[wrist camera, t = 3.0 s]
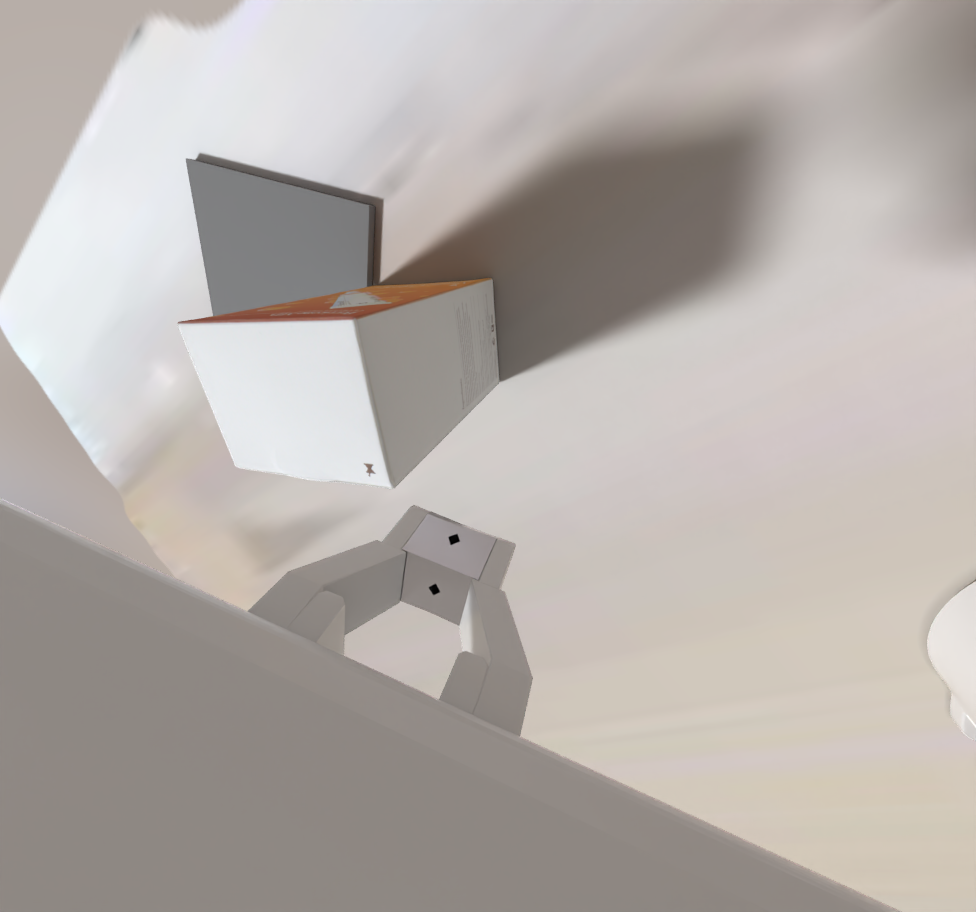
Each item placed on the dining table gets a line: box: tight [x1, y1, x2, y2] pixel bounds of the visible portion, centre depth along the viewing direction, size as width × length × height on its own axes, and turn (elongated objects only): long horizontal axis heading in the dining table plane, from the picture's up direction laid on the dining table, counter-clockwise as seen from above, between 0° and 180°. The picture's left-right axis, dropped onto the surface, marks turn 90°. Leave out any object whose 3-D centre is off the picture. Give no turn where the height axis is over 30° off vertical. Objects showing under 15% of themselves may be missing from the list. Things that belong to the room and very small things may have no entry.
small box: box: [178, 278, 499, 489], centre depth 20 cm, size 8×6×13 cm
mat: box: [186, 159, 375, 316], centre depth 27 cm, size 13×12×1 cm
